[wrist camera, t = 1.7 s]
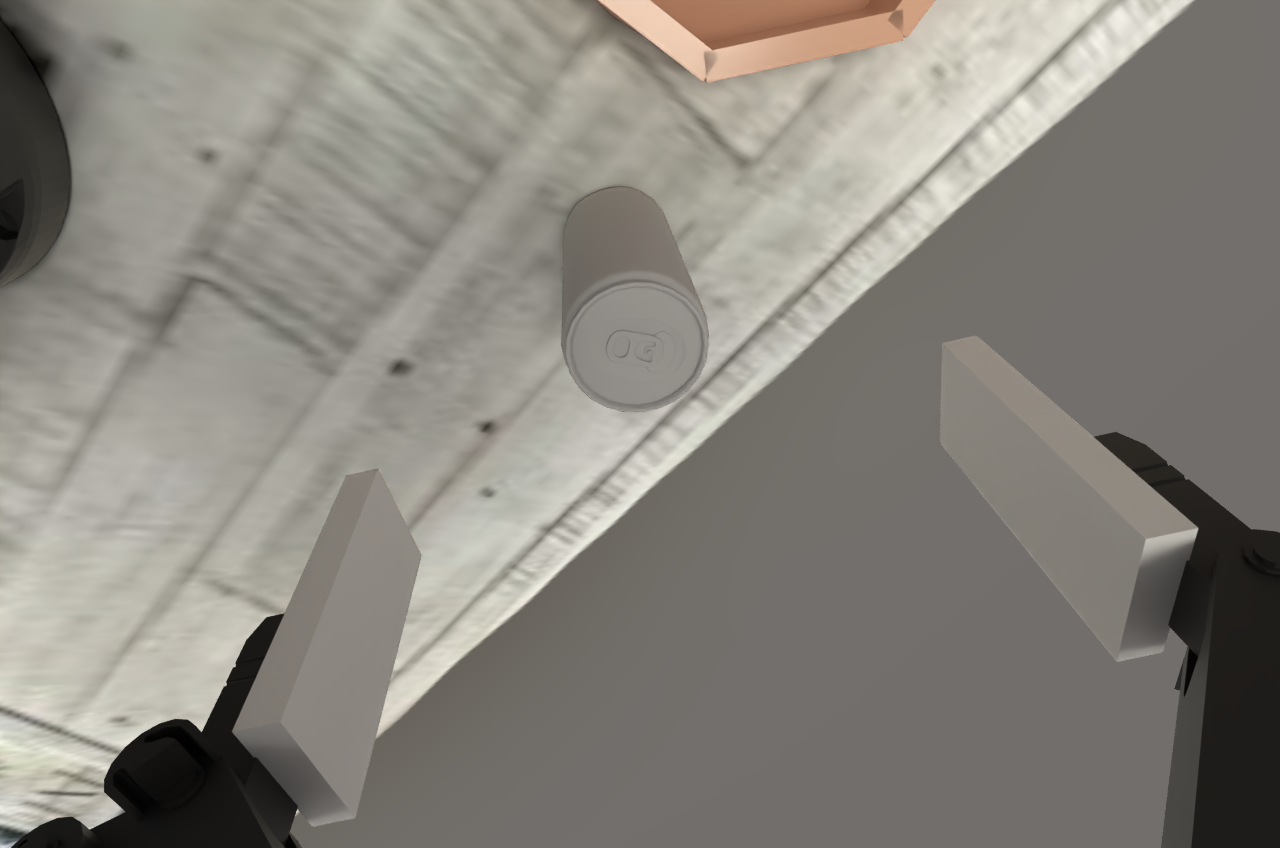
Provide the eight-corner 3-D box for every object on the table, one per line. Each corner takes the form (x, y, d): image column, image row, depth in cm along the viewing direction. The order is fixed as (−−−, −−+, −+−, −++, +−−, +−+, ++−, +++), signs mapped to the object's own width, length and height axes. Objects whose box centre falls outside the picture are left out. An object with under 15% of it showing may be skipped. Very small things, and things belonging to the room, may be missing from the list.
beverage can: (655, 294, 34) (691, 425, 24) (555, 276, 34) (549, 405, 23) (679, 194, 32) (731, 293, 22) (572, 172, 31) (574, 264, 21)
